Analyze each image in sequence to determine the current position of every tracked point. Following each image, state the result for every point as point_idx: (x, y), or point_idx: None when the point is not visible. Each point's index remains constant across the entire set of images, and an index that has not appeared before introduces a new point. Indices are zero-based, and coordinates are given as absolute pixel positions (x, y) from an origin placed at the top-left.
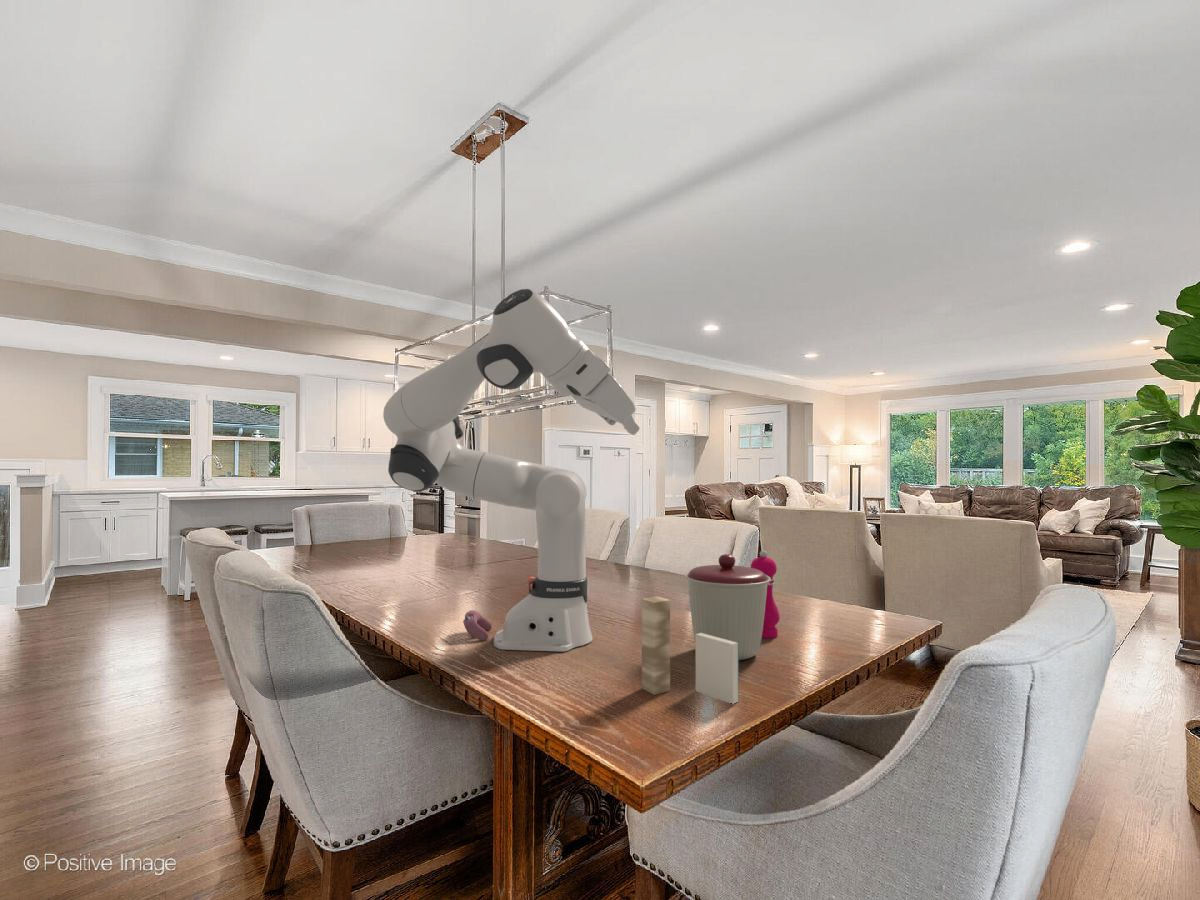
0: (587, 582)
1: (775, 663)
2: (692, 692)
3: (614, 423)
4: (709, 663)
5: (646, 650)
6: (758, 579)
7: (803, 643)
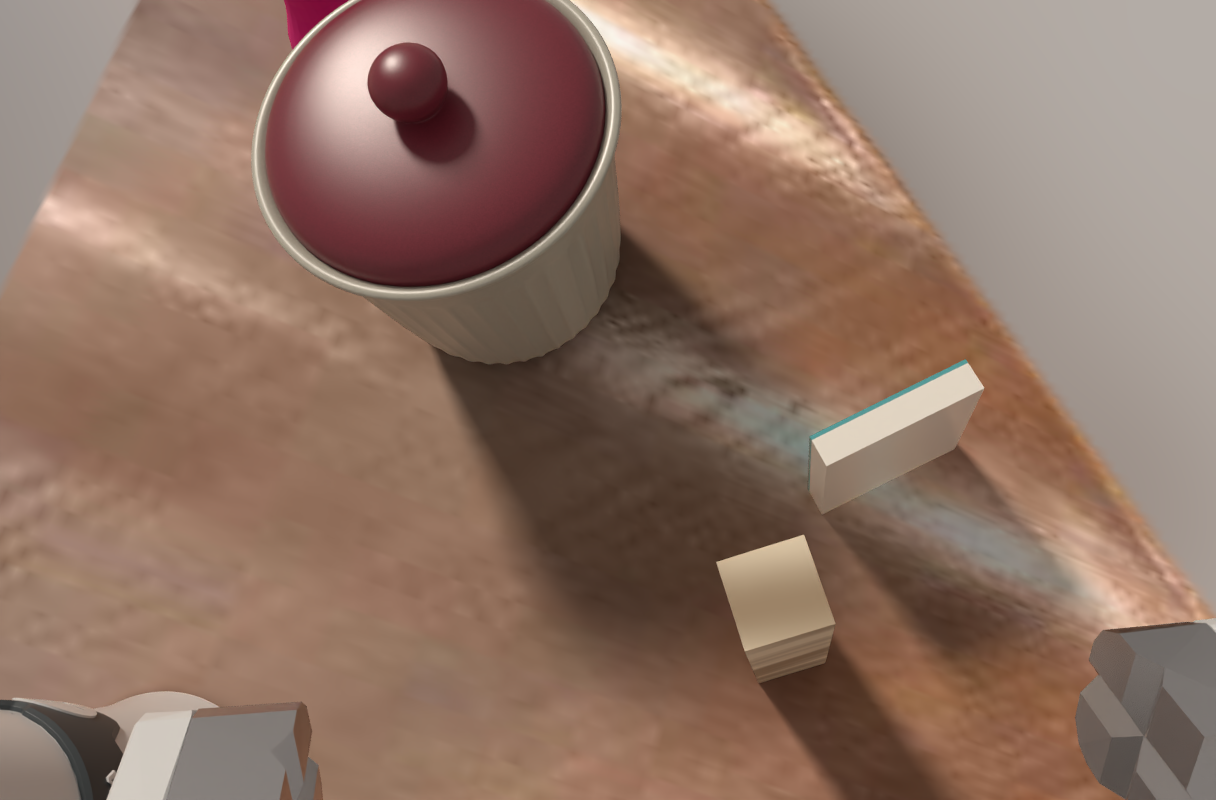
0: (40, 706)
1: (651, 171)
2: (831, 530)
3: (317, 771)
4: (881, 461)
5: (783, 662)
6: (583, 44)
7: None
